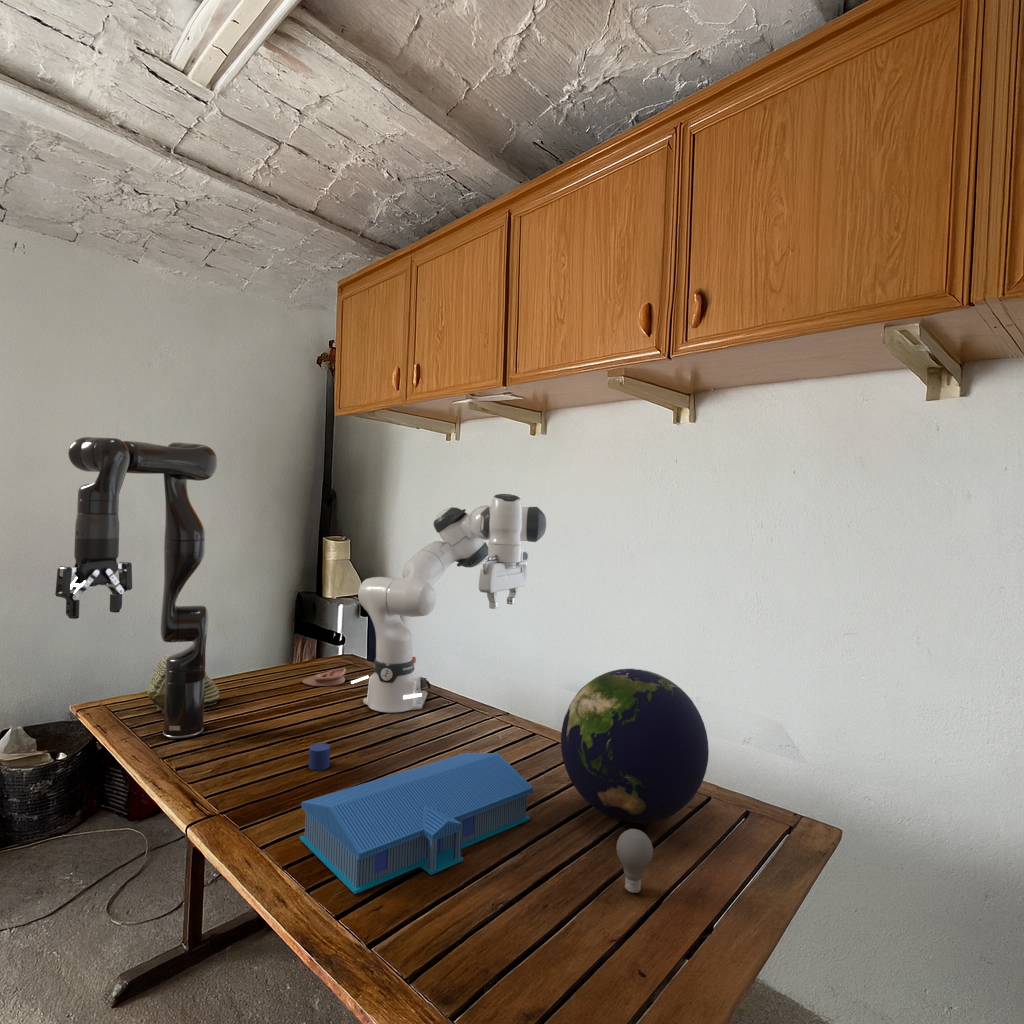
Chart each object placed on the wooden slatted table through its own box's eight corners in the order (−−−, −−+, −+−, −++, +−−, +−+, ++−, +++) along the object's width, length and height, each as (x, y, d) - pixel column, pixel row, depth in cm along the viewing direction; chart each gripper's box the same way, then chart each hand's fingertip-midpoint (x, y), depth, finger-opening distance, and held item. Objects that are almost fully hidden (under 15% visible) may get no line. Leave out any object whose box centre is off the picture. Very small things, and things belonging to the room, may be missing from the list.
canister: (309, 771, 146) (310, 751, 145) (307, 763, 150) (308, 744, 150) (330, 769, 147) (331, 749, 147) (328, 761, 152) (329, 742, 152)
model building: (364, 904, 99) (367, 841, 99) (298, 838, 117) (300, 784, 117) (541, 825, 125) (544, 775, 125) (465, 781, 144) (467, 737, 143)
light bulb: (610, 879, 108) (613, 822, 108) (644, 879, 109) (647, 822, 109) (619, 902, 102) (622, 840, 102) (655, 901, 103) (658, 840, 103)
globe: (537, 831, 123) (544, 678, 123) (580, 772, 151) (585, 647, 150) (696, 871, 112) (704, 703, 111) (710, 800, 140) (717, 665, 139)
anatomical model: (297, 672, 210) (315, 663, 221) (297, 684, 210) (314, 675, 221) (334, 676, 207) (350, 667, 219) (333, 688, 208) (349, 679, 219)
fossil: (144, 707, 182) (145, 655, 182) (212, 696, 194) (213, 647, 194) (151, 716, 175) (153, 662, 175) (221, 703, 188) (223, 653, 188)
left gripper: (74, 538, 121) (71, 623, 121) (142, 535, 134) (139, 612, 134) (48, 535, 123) (45, 618, 124) (117, 533, 137) (115, 608, 137)
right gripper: (495, 558, 159) (492, 612, 159) (531, 553, 177) (529, 603, 177) (473, 556, 162) (471, 609, 162) (512, 551, 180) (510, 600, 180)
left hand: (94, 615), depth 129 cm, fingers open, 8 cm apart
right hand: (502, 606), depth 170 cm, fingers open, 8 cm apart
